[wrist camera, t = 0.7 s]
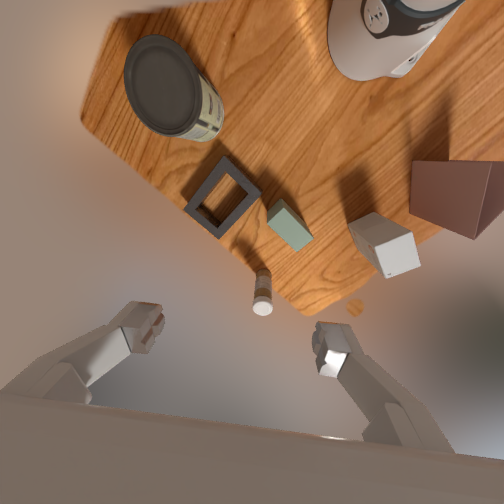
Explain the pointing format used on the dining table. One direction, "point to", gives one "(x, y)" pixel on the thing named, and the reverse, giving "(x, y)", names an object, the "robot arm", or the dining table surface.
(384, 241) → the small box
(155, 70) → the coffee can
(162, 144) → the dining table surface
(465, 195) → the greeting card
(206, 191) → the keyed collar
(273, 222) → the sage block
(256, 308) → the sprinkles bottle
